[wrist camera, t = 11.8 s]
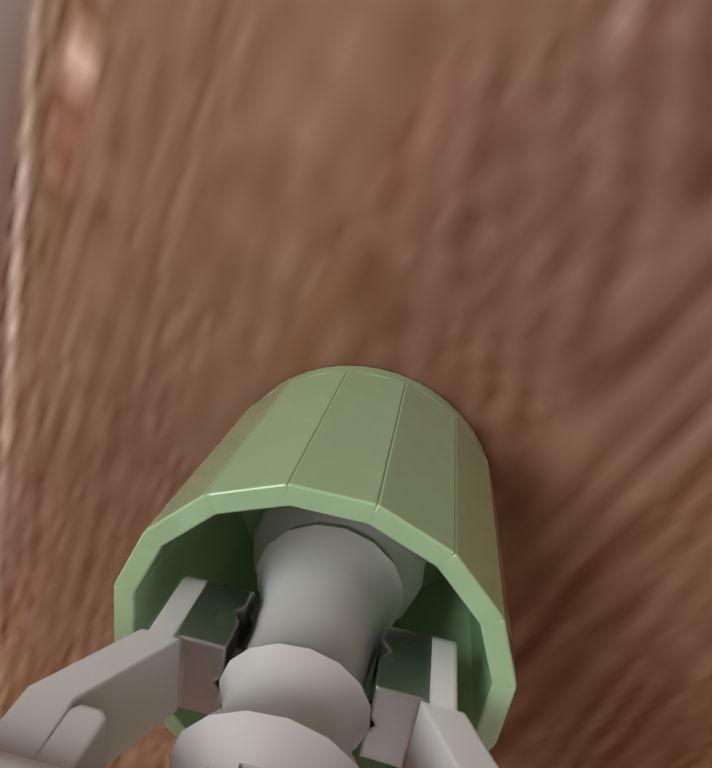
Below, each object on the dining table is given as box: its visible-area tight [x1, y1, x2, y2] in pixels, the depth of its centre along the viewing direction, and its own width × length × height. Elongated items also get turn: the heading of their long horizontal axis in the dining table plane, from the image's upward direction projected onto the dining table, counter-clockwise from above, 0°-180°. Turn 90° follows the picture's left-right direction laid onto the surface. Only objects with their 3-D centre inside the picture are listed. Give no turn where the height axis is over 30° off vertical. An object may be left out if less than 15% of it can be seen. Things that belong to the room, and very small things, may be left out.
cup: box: [114, 366, 517, 768], centre depth 14 cm, size 8×8×6 cm
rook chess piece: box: [169, 506, 427, 768], centre depth 12 cm, size 4×4×8 cm
